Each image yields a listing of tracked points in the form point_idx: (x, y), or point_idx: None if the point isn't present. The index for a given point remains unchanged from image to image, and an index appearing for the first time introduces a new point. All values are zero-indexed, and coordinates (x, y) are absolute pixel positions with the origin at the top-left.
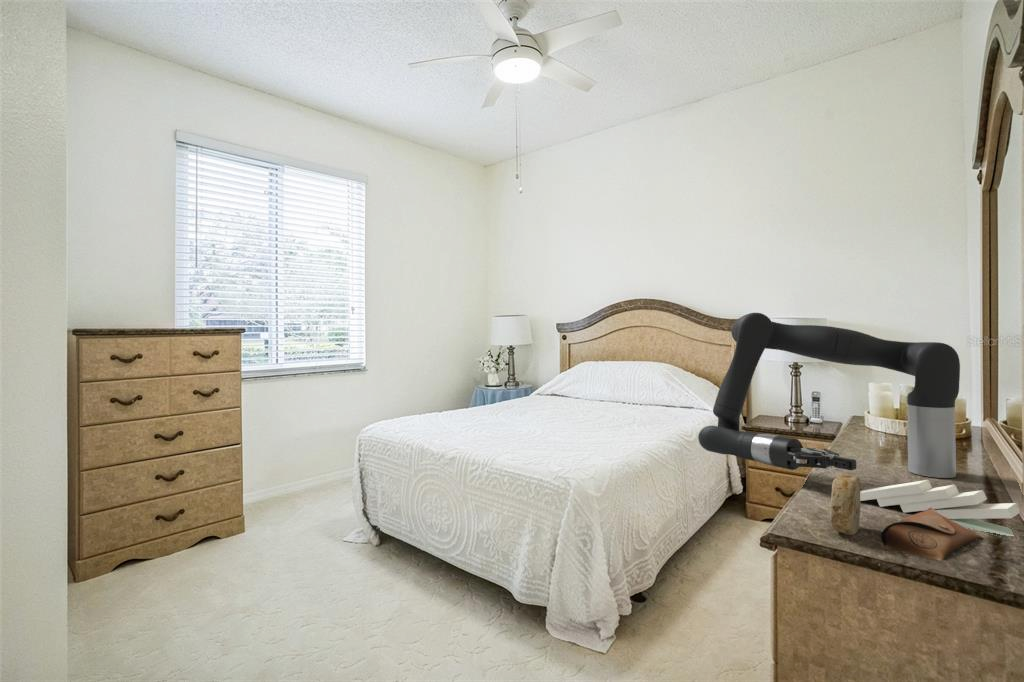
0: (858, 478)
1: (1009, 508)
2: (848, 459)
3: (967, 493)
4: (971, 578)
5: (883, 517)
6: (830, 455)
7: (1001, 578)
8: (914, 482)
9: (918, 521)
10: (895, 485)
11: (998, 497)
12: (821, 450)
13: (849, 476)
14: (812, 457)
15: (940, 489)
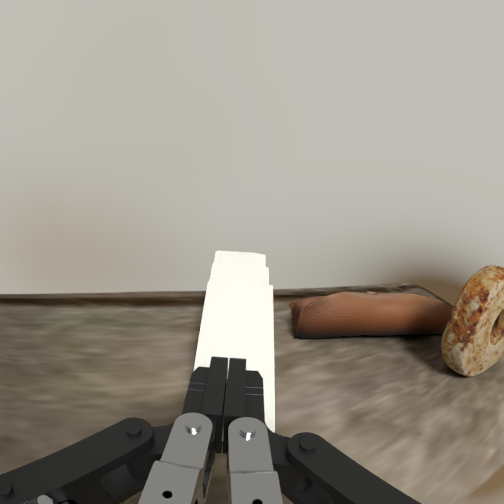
0: (478, 271)
1: (253, 253)
2: (235, 369)
3: (233, 264)
4: (424, 294)
5: (339, 377)
6: (242, 431)
7: (398, 287)
8: (221, 300)
9: (406, 295)
10: (219, 339)
11: (21, 297)
12: (156, 494)
13: (500, 267)
14: (374, 478)
15: (261, 274)
